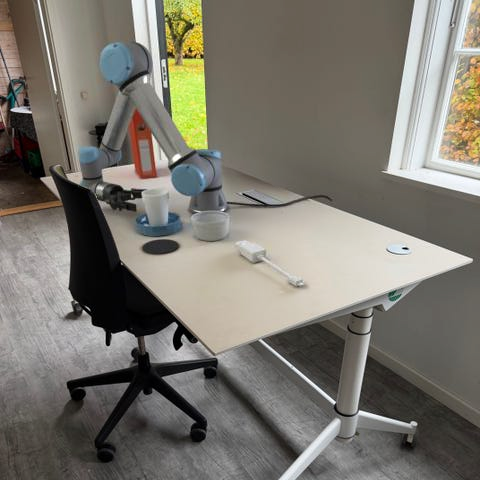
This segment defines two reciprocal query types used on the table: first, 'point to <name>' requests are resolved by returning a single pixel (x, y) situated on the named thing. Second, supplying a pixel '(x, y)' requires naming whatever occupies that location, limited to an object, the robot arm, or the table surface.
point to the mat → (160, 246)
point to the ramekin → (210, 225)
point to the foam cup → (156, 206)
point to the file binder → (142, 147)
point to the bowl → (146, 229)
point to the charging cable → (258, 254)
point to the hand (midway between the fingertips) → (149, 203)
